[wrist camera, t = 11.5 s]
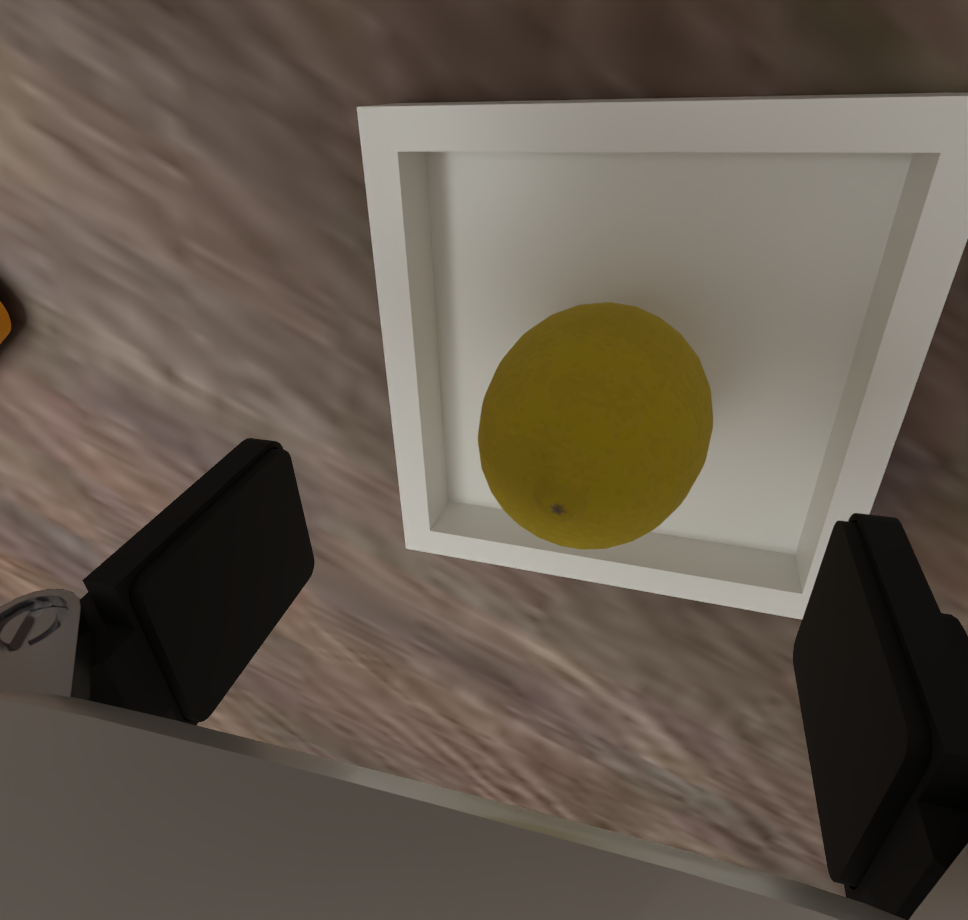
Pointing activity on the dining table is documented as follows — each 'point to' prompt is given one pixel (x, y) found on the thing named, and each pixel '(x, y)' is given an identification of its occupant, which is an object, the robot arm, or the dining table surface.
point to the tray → (671, 304)
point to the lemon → (595, 426)
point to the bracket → (4, 323)
